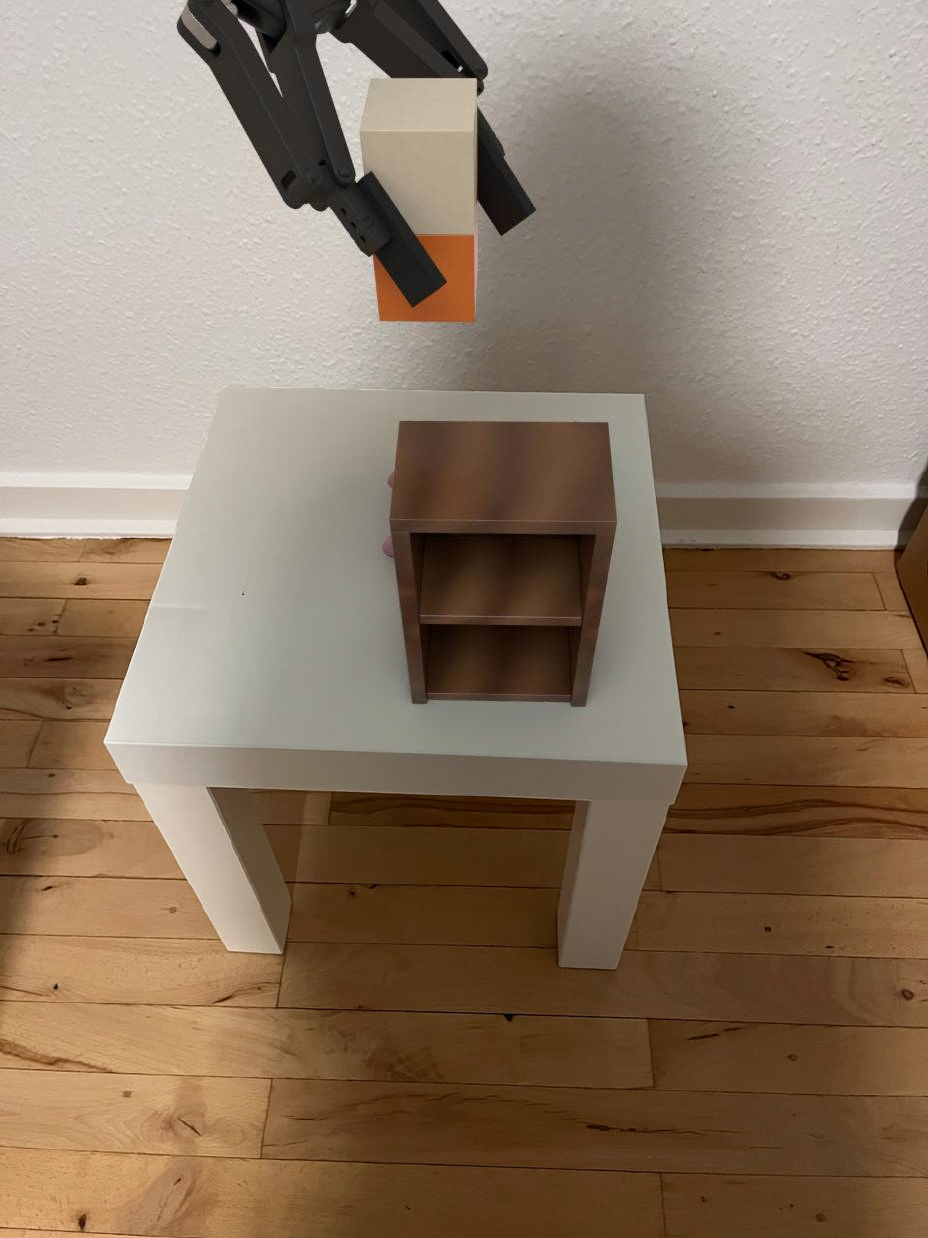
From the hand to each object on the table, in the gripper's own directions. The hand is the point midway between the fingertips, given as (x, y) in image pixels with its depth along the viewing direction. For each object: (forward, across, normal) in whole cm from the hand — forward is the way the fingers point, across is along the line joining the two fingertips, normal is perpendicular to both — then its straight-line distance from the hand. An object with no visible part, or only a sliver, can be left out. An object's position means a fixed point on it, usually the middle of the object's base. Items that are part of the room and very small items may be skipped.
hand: (475, 257), depth 51 cm
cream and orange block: (0, 0, +5) cm, 5 cm away
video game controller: (+16, +6, +33) cm, 37 cm away
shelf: (+27, -2, +22) cm, 35 cm away
